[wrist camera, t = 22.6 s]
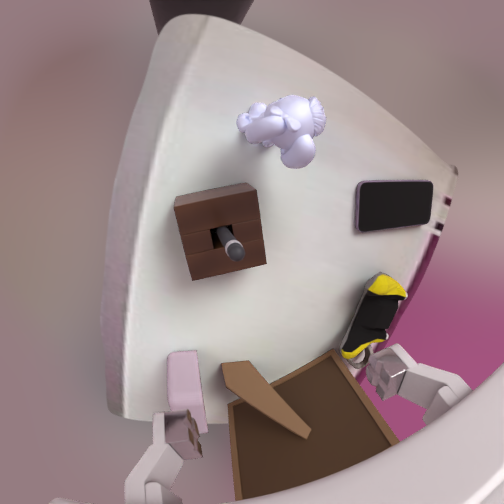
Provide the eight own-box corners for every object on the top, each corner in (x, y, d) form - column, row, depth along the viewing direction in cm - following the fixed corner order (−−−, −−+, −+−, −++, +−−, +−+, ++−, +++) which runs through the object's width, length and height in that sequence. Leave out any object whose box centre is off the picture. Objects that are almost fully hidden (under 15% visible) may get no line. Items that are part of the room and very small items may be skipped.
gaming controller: (326, 343, 45) (369, 339, 47) (340, 364, 40) (384, 357, 42) (357, 263, 39) (401, 268, 42) (377, 280, 35) (421, 283, 37)
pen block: (175, 196, 30) (173, 207, 26) (246, 182, 31) (256, 189, 27) (191, 261, 34) (192, 281, 29) (256, 247, 35) (266, 264, 30)
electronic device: (165, 348, 38) (164, 400, 29) (196, 346, 39) (202, 398, 30) (174, 389, 42) (177, 438, 33) (201, 388, 43) (208, 436, 34)
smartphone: (359, 181, 34) (433, 180, 36) (355, 180, 35) (429, 179, 37) (357, 233, 37) (429, 224, 39) (353, 231, 38) (425, 222, 40)
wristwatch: (360, 374, 45) (380, 357, 45) (342, 358, 44) (364, 340, 43) (354, 363, 49) (374, 347, 48) (337, 347, 48) (358, 330, 47)
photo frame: (338, 360, 47) (406, 464, 25) (238, 412, 48) (271, 525, 25) (314, 310, 41) (407, 443, 18) (193, 375, 41) (216, 521, 19)
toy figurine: (300, 122, 30) (357, 118, 19) (272, 166, 31) (317, 182, 21) (252, 89, 27) (289, 63, 16) (221, 135, 29) (242, 131, 18)
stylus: (211, 220, 32) (227, 248, 19) (222, 218, 32) (245, 244, 19) (213, 231, 33) (230, 266, 19) (224, 228, 33) (248, 261, 20)
